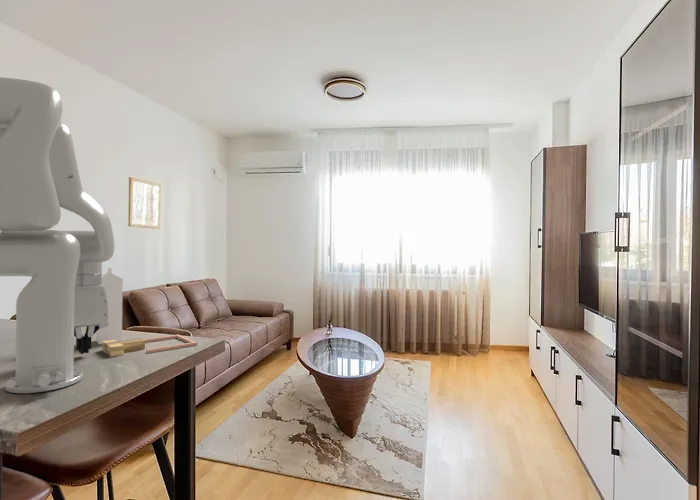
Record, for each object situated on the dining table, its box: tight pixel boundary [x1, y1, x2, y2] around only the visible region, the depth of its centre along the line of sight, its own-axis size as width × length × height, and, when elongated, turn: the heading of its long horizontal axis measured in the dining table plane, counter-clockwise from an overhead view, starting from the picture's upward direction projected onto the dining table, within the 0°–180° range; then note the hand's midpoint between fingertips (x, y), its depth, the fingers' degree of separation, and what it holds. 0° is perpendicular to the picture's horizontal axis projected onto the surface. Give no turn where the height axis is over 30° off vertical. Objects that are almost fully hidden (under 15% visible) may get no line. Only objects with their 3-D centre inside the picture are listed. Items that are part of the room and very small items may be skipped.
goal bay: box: [143, 334, 198, 354], centre depth 115 cm, size 14×14×1 cm
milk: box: [95, 266, 124, 345], centre depth 118 cm, size 6×6×22 cm
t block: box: [101, 338, 146, 358], centre depth 108 cm, size 9×9×2 cm
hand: (83, 352), depth 101 cm, fingers closed
